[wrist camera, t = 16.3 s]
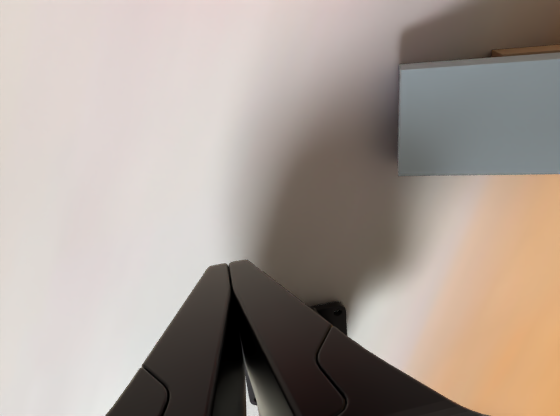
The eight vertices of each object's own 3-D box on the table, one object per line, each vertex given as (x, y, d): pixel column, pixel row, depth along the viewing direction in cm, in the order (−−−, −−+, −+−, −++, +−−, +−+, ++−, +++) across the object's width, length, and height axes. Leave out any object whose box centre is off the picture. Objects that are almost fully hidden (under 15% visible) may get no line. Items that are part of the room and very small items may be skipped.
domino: (397, 162, 22) (556, 159, 20) (398, 175, 21) (572, 173, 19) (399, 64, 20) (576, 51, 18) (400, 70, 18) (596, 56, 17)
